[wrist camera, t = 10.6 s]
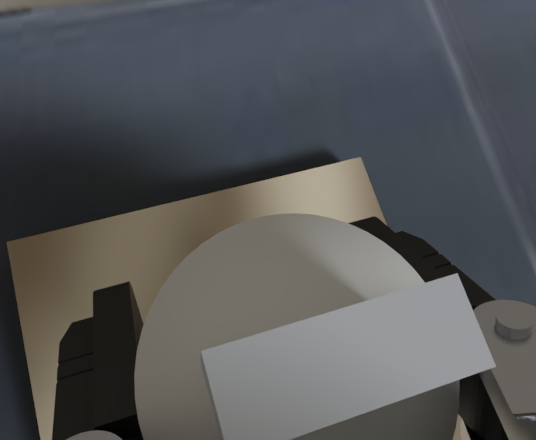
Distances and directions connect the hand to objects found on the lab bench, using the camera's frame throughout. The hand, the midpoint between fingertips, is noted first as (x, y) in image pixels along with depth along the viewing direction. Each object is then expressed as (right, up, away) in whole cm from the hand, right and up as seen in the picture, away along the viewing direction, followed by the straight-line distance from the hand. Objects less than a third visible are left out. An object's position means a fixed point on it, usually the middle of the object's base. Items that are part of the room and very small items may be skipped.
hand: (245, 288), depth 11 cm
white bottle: (0, -3, +4) cm, 5 cm away
